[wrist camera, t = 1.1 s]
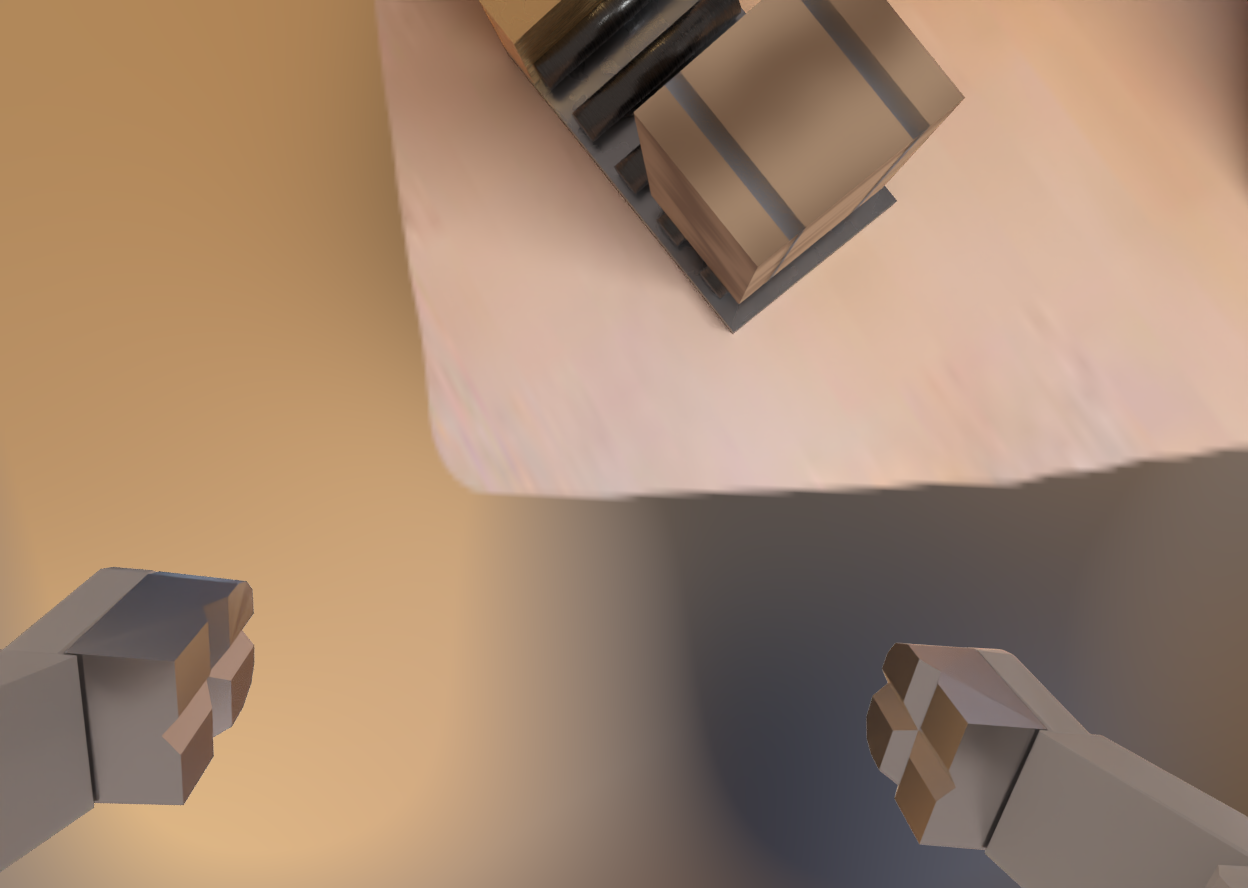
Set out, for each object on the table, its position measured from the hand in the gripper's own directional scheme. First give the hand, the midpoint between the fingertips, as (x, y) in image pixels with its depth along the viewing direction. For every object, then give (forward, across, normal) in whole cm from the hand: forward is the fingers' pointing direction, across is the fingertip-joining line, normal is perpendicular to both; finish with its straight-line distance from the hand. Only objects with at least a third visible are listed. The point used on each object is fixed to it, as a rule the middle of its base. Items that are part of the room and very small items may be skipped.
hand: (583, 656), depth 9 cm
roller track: (+39, -7, -10) cm, 41 cm away
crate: (+34, -10, -7) cm, 36 cm away
